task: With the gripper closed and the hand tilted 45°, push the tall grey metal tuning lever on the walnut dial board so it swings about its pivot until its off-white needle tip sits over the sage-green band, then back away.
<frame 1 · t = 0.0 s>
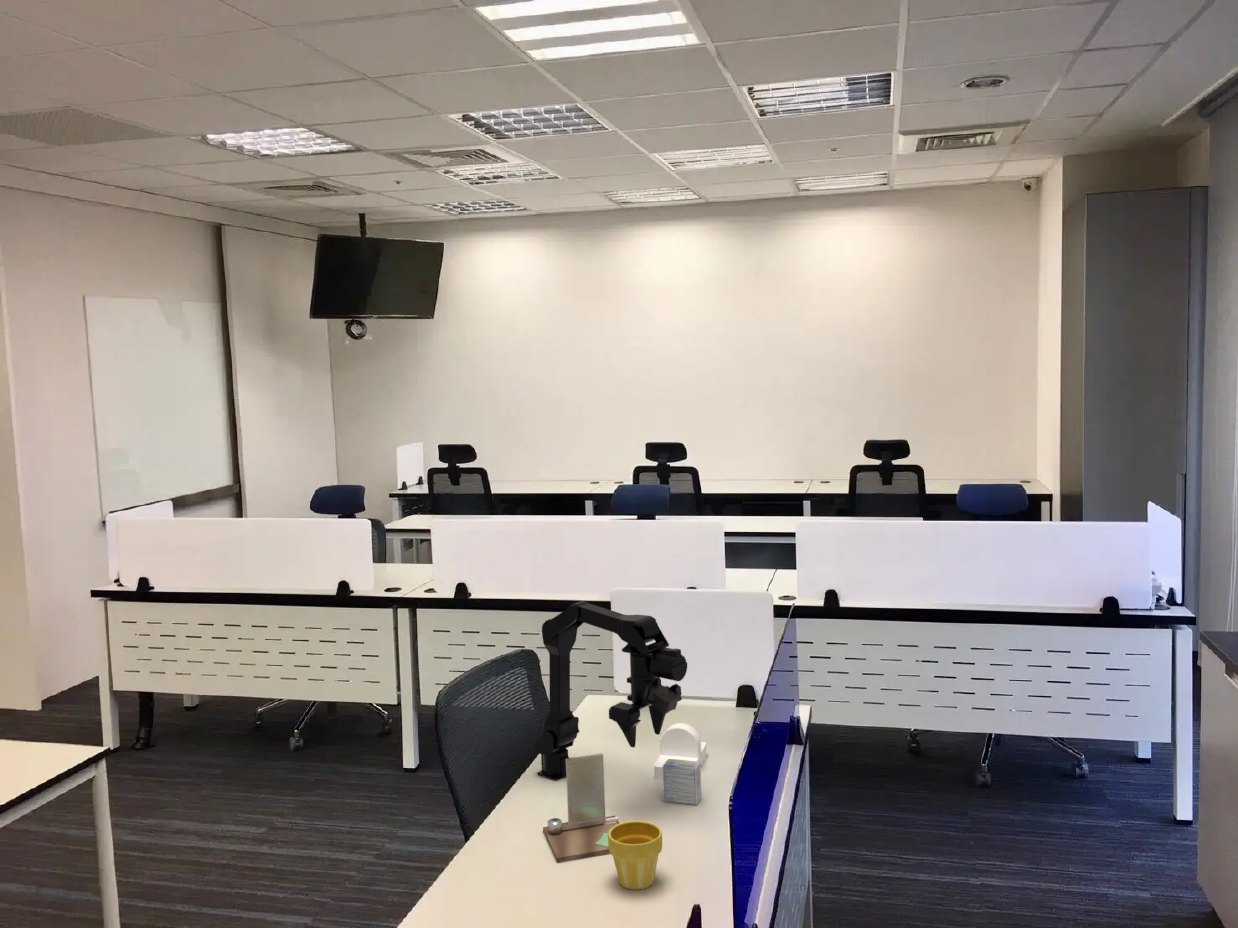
hand: (645, 740, 216), 15 cm above the table, tool pointing down, fingers open, 9 cm apart
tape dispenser: (681, 768, 237), on the table
plant pot: (636, 881, 184), on the table
dial board: (555, 836, 203), on the table
medicine box: (682, 800, 218), on the table
tuning lever: (582, 791, 203), point 9 cm above the table, hinge at 0.0°
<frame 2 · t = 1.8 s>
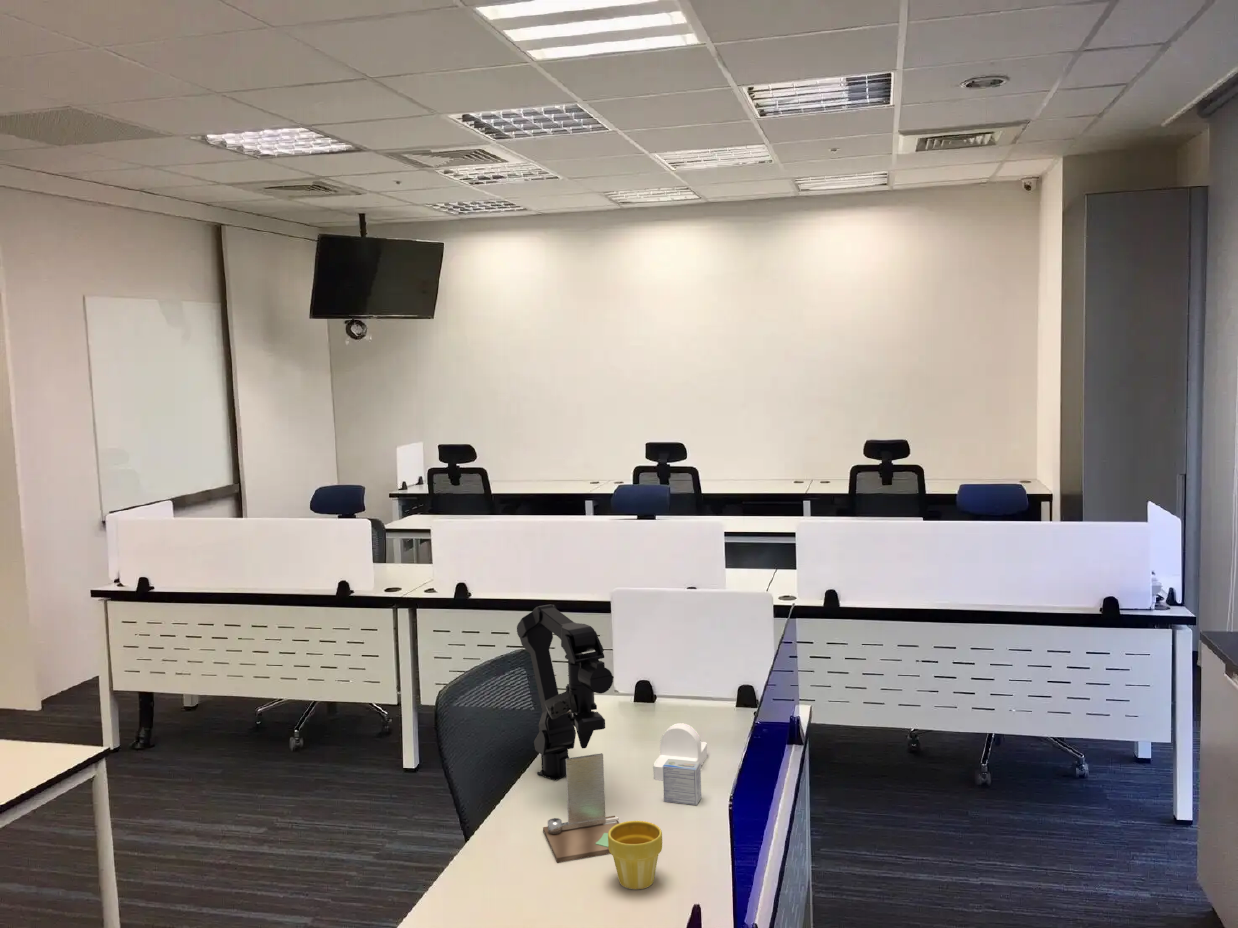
hand: (583, 747, 220), 12 cm above the table, tool pointing down, fingers closed
nothing on the table moved.
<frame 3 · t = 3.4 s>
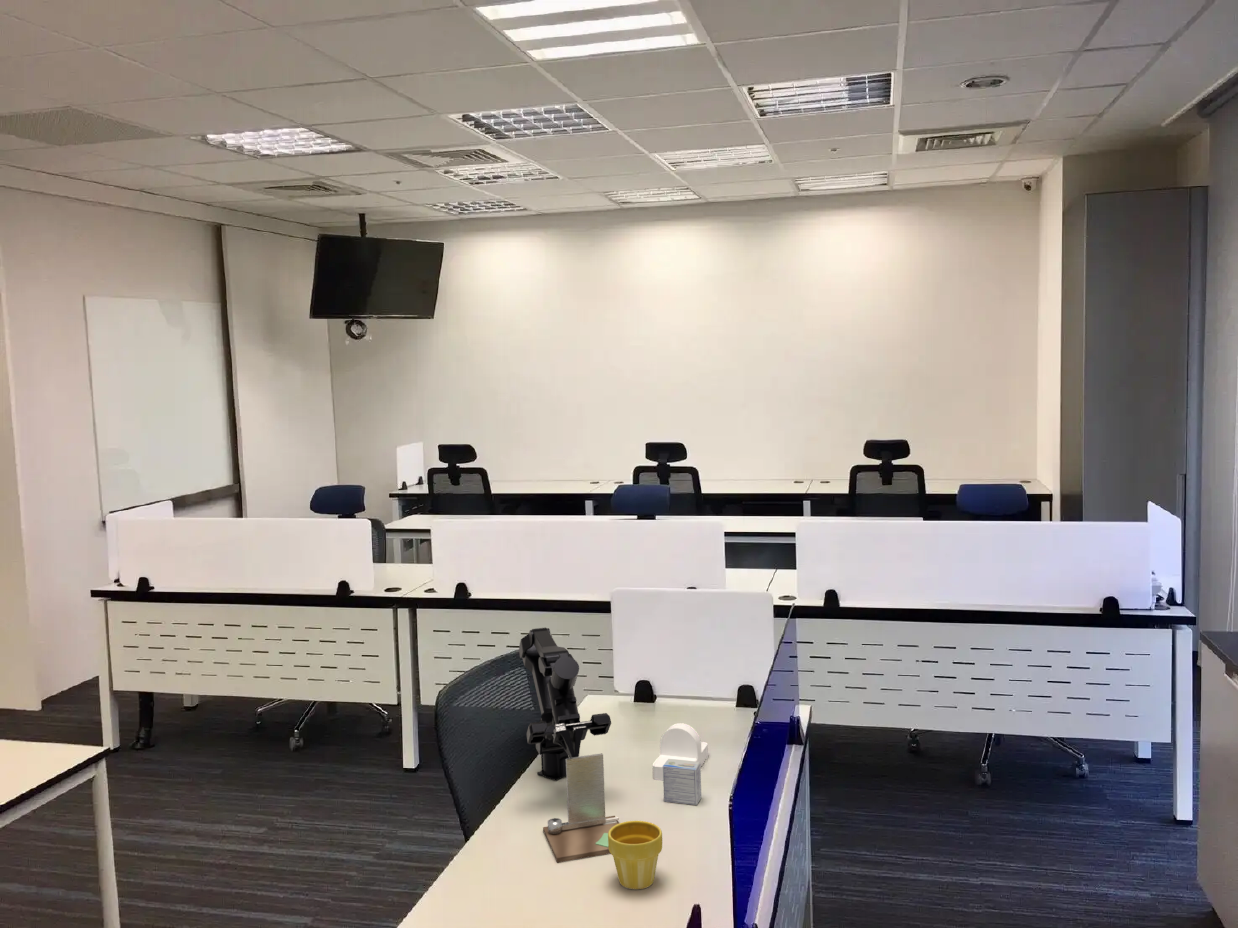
hand: (576, 764, 211), 12 cm above the table, tool tilted 45°, fingers closed
nothing on the table moved.
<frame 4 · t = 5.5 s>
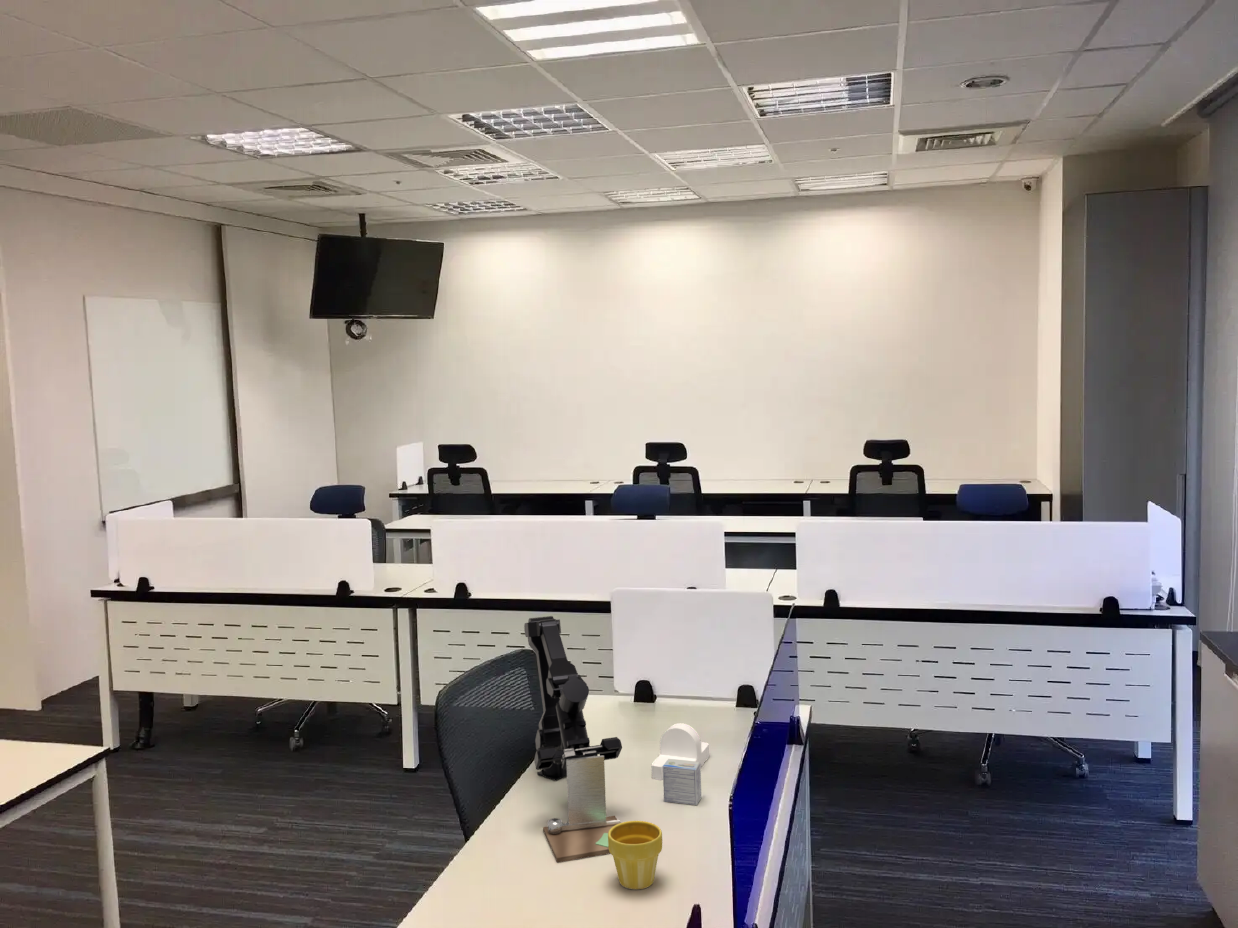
hand: (585, 791, 204), 9 cm above the table, tool tilted 45°, fingers closed, pressing on tuning lever
tuning lever: (582, 792, 203), point 9 cm above the table, hinge at -6.1°, touching gripper
everything else where it was.
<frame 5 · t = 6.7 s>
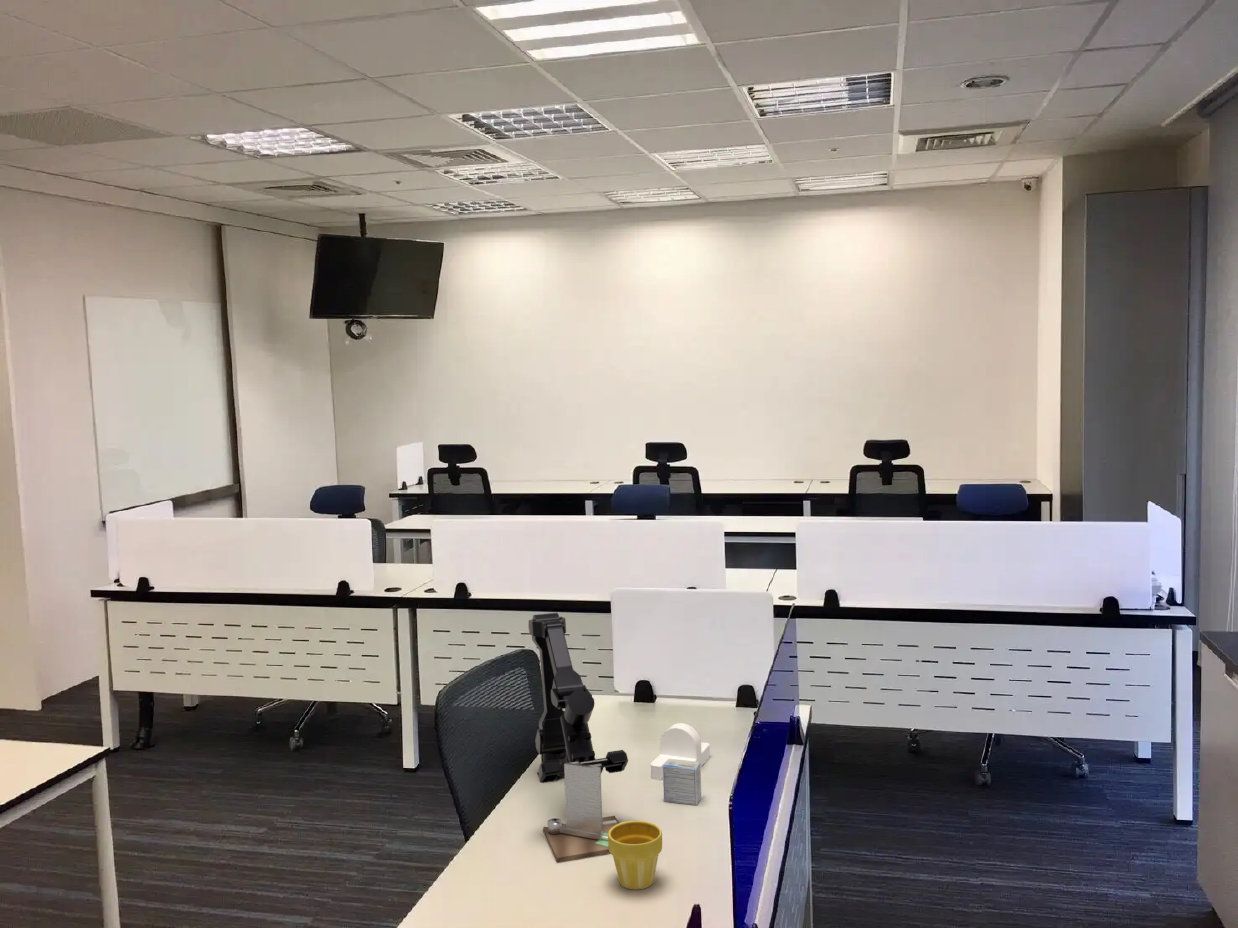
hand: (590, 805, 199), 8 cm above the table, tool tilted 45°, fingers closed
tuning lever: (580, 800, 199), point 9 cm above the table, hinge at -39.8°, touching gripper
everything else where it was.
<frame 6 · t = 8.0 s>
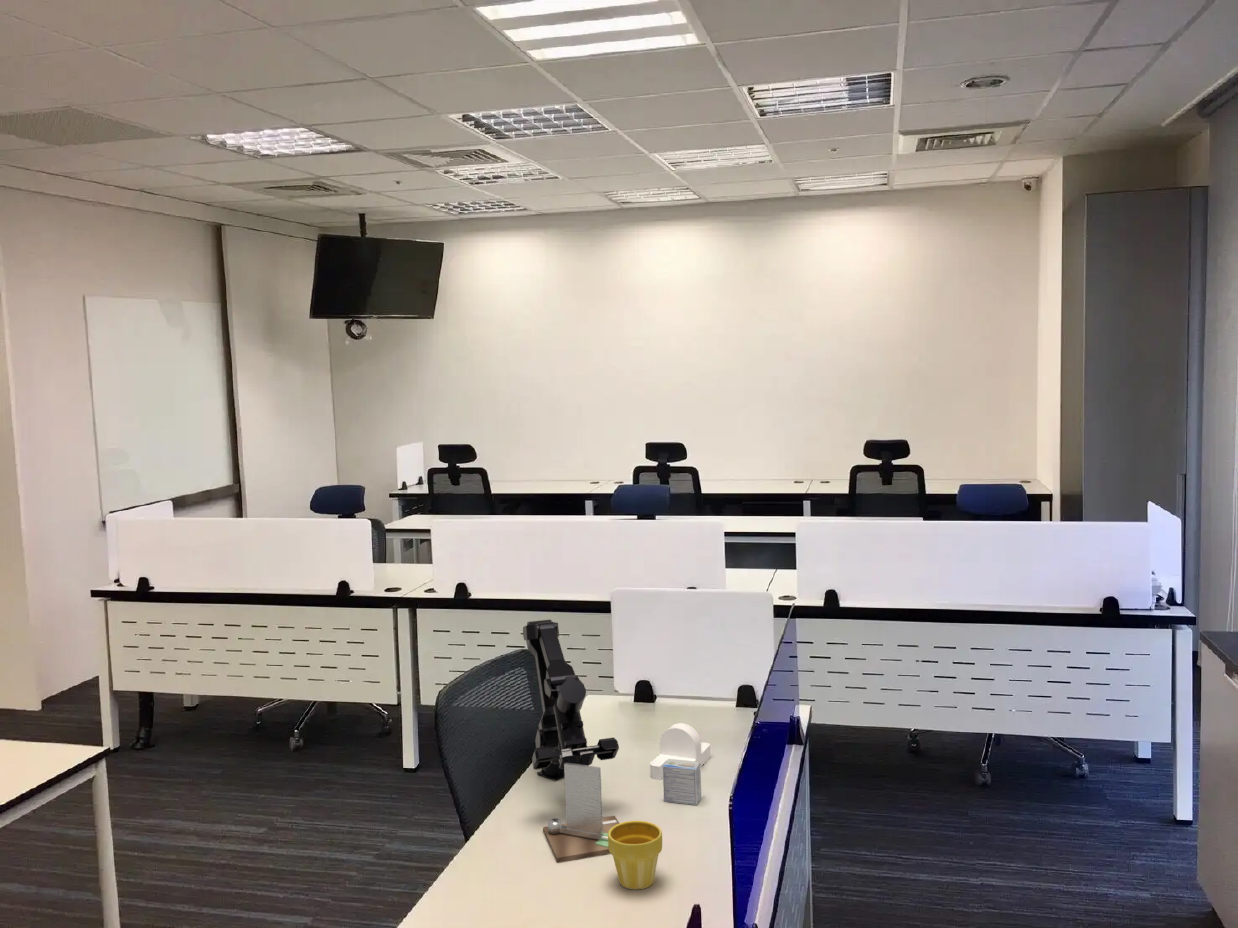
hand: (582, 790, 206), 8 cm above the table, tool tilted 45°, fingers closed
tuning lever: (580, 800, 199), point 9 cm above the table, hinge at -39.9°
everything else where it was.
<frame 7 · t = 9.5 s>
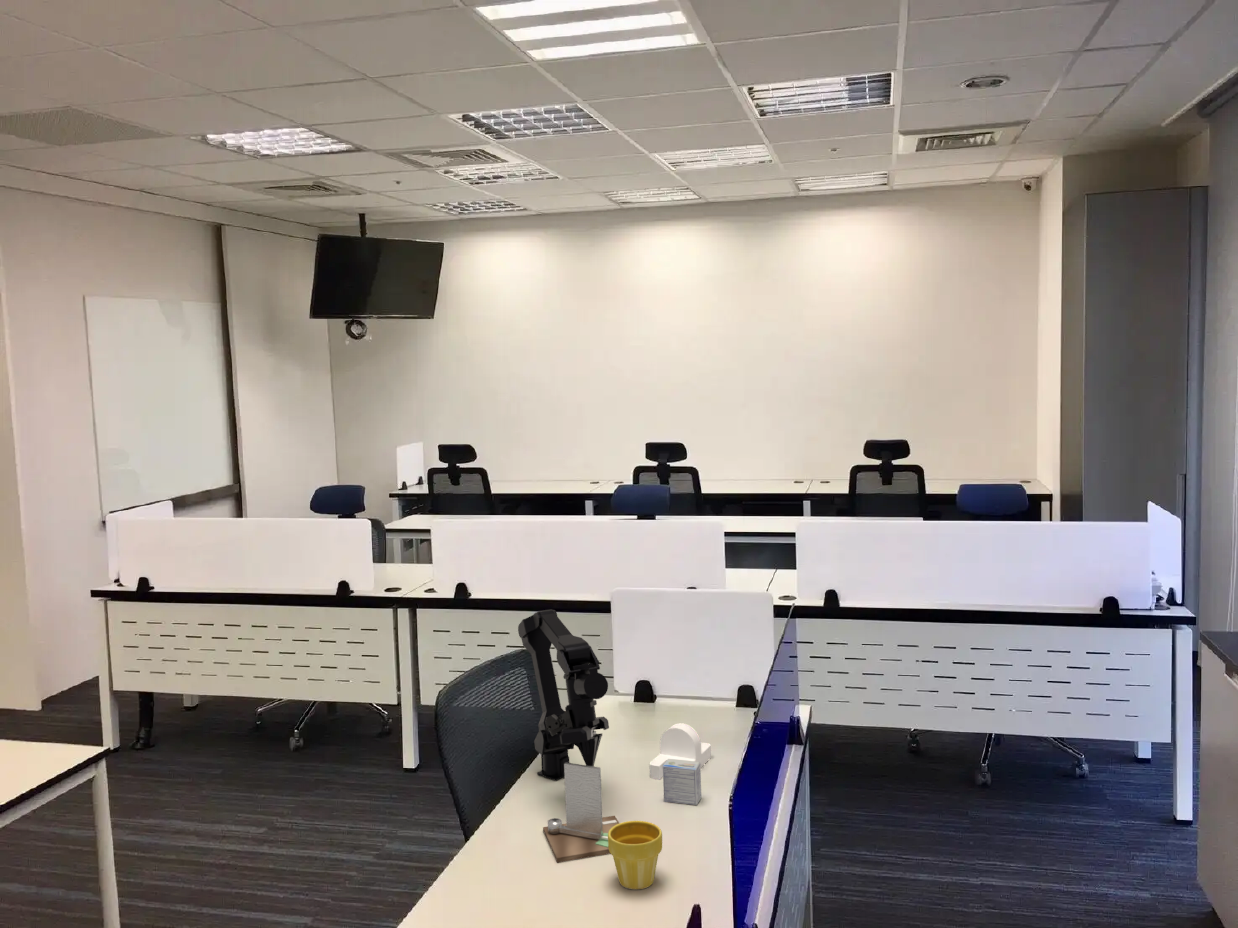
hand: (590, 768, 214), 9 cm above the table, tool tilted 15°, fingers closed
nothing on the table moved.
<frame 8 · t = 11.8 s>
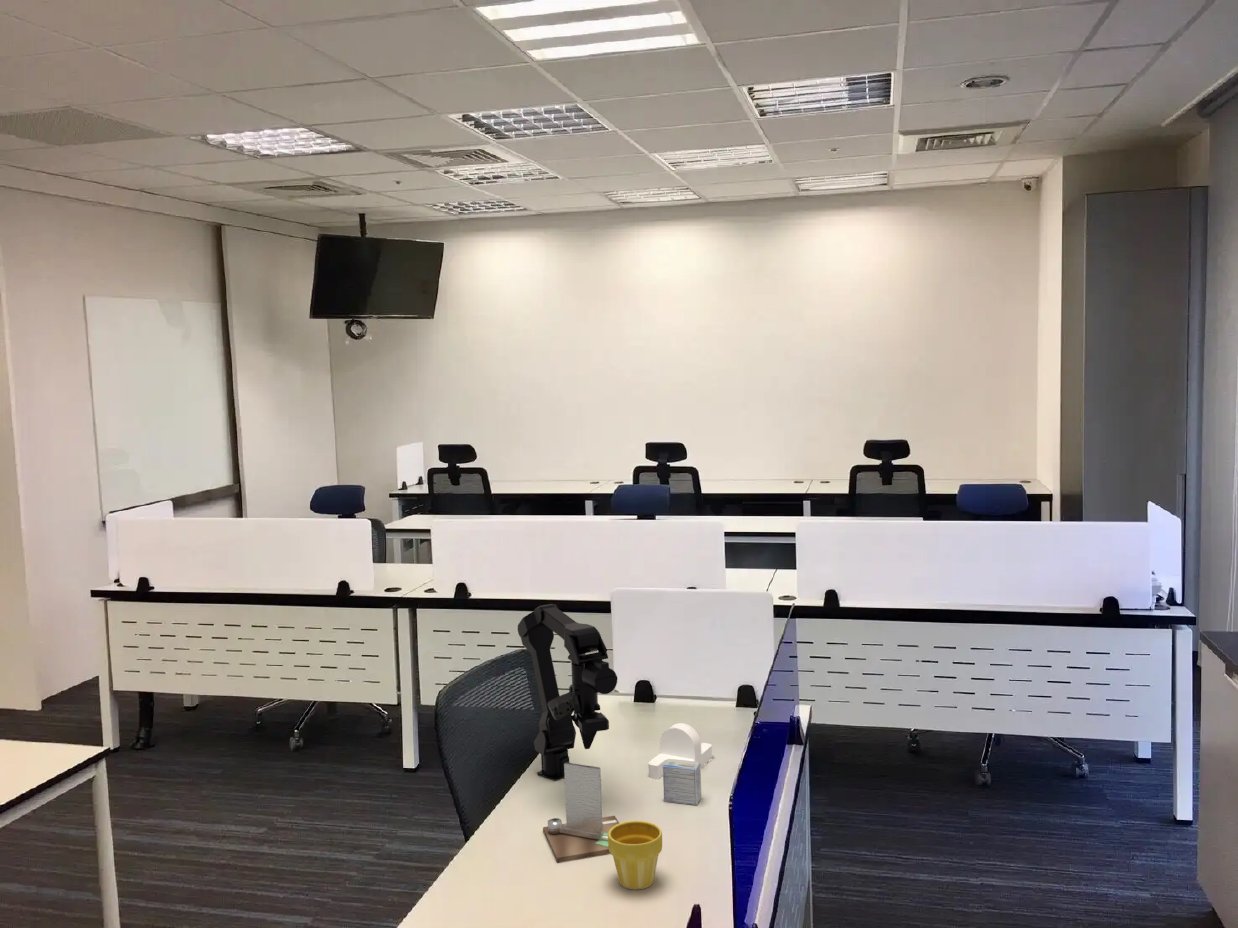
hand: (587, 748, 219), 12 cm above the table, tool pointing down, fingers closed
at the end: tuning lever at -40° (first picture: +0°); medicine box moved 0.3 cm from its start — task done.
